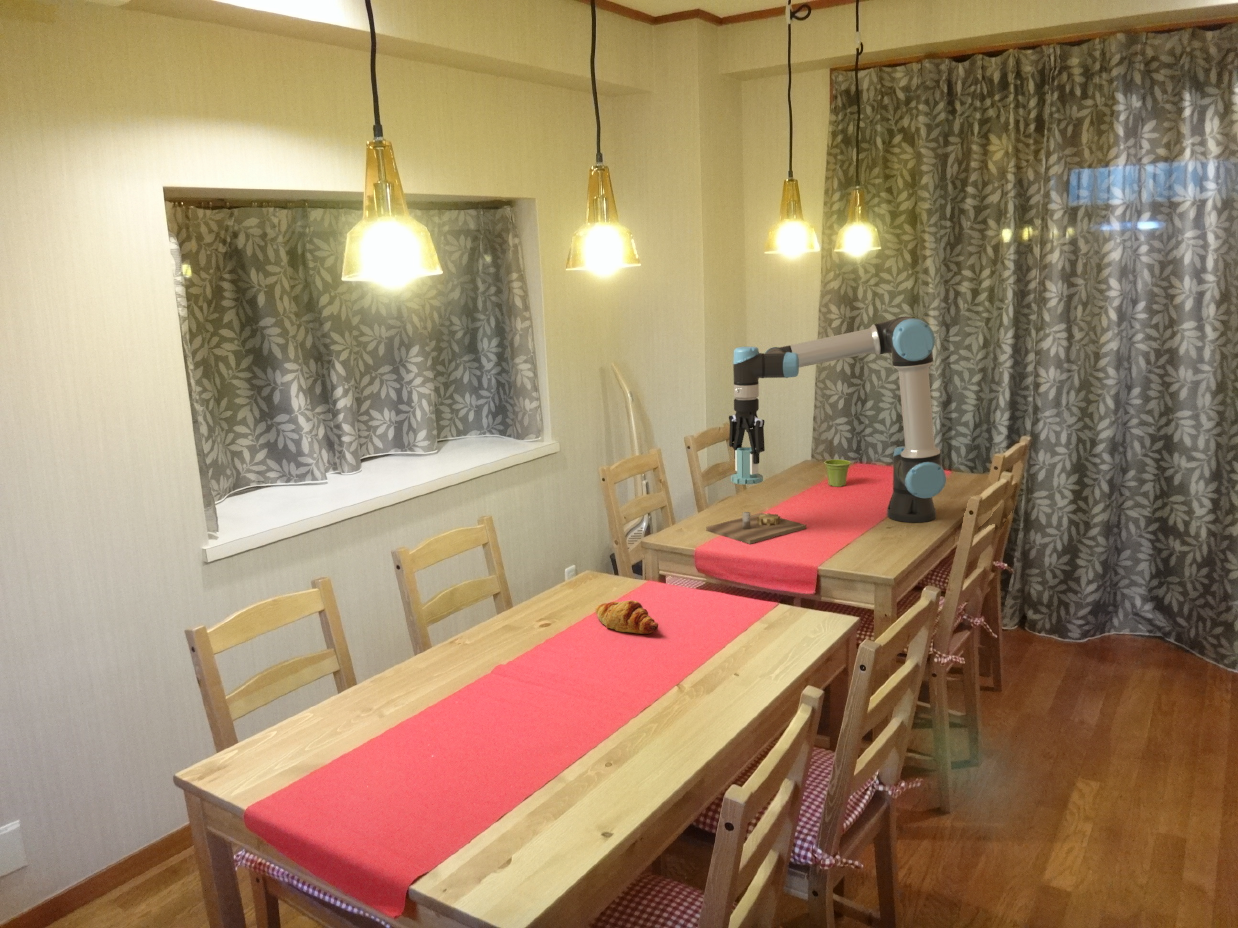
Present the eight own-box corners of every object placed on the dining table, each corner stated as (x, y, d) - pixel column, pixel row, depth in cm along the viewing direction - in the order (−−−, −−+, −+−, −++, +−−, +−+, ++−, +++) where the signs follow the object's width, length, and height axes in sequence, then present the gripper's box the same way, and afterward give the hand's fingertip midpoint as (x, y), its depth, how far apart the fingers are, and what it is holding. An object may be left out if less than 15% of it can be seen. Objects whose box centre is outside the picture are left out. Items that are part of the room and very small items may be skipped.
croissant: (589, 631, 243) (576, 608, 239) (614, 603, 248) (601, 580, 244) (650, 652, 228) (637, 628, 224) (675, 622, 233) (663, 598, 229)
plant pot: (848, 481, 366) (848, 459, 364) (851, 487, 357) (852, 464, 355) (823, 482, 367) (823, 459, 365) (825, 488, 358) (825, 465, 356)
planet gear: (769, 480, 304) (769, 449, 301) (746, 486, 298) (745, 453, 296) (747, 475, 311) (747, 444, 309) (724, 480, 306) (724, 449, 304)
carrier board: (806, 528, 309) (806, 509, 308) (749, 544, 296) (749, 524, 294) (761, 516, 325) (761, 498, 324) (706, 530, 311) (705, 511, 310)
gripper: (716, 396, 305) (717, 469, 310) (758, 402, 289) (759, 479, 294) (734, 393, 309) (735, 465, 314) (777, 399, 294) (777, 475, 299)
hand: (746, 471), depth 304 cm, fingers closed on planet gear, 6 cm apart
